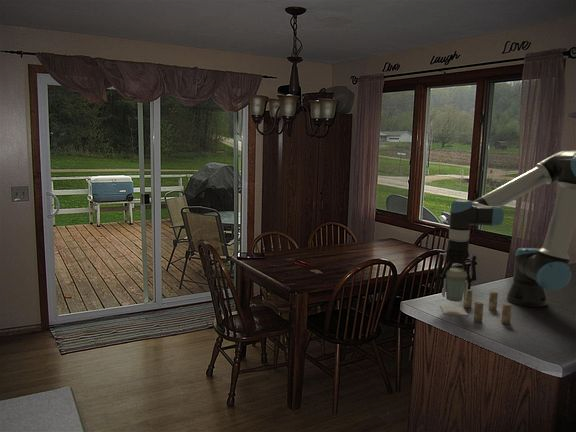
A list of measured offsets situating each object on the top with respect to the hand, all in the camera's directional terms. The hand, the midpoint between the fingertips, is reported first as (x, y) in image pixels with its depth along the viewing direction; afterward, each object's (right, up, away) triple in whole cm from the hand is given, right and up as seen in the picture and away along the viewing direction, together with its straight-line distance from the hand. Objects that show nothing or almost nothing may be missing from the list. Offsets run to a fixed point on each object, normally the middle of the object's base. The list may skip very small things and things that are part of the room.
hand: (454, 296), depth 189 cm
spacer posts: (+11, -7, -3) cm, 13 cm away
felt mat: (0, -6, +1) cm, 6 cm away
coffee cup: (0, -1, 0) cm, 1 cm away
